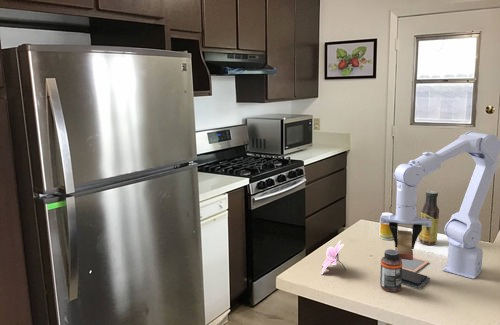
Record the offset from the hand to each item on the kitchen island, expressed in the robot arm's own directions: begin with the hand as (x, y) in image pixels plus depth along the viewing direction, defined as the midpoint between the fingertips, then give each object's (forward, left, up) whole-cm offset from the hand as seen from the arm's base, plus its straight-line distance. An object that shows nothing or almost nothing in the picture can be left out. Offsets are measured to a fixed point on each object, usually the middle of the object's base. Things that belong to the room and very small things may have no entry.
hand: (404, 247), depth 132 cm
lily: (+19, +10, -10) cm, 24 cm away
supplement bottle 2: (0, +9, -10) cm, 14 cm away
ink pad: (-2, +1, -10) cm, 10 cm away
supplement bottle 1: (+20, -28, -10) cm, 36 cm away
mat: (+4, -10, -10) cm, 15 cm away
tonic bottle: (+6, -33, -10) cm, 36 cm away
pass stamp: (0, 0, -3) cm, 3 cm away
